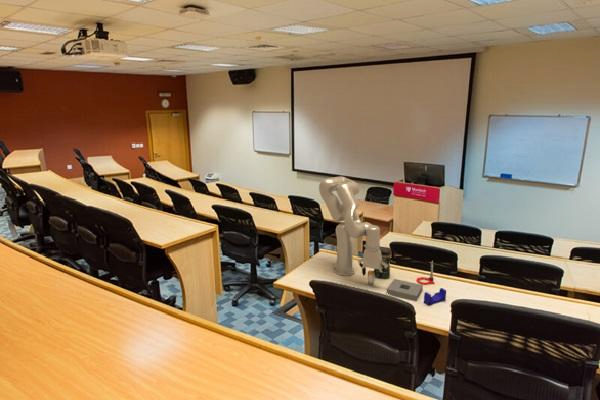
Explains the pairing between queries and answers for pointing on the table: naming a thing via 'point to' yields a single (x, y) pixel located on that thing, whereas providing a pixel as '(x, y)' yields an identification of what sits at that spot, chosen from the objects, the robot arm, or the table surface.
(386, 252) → the coffee jar
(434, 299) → the cable clip
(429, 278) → the tow hook
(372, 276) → the orange and cream cylinder
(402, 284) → the hitch plate
